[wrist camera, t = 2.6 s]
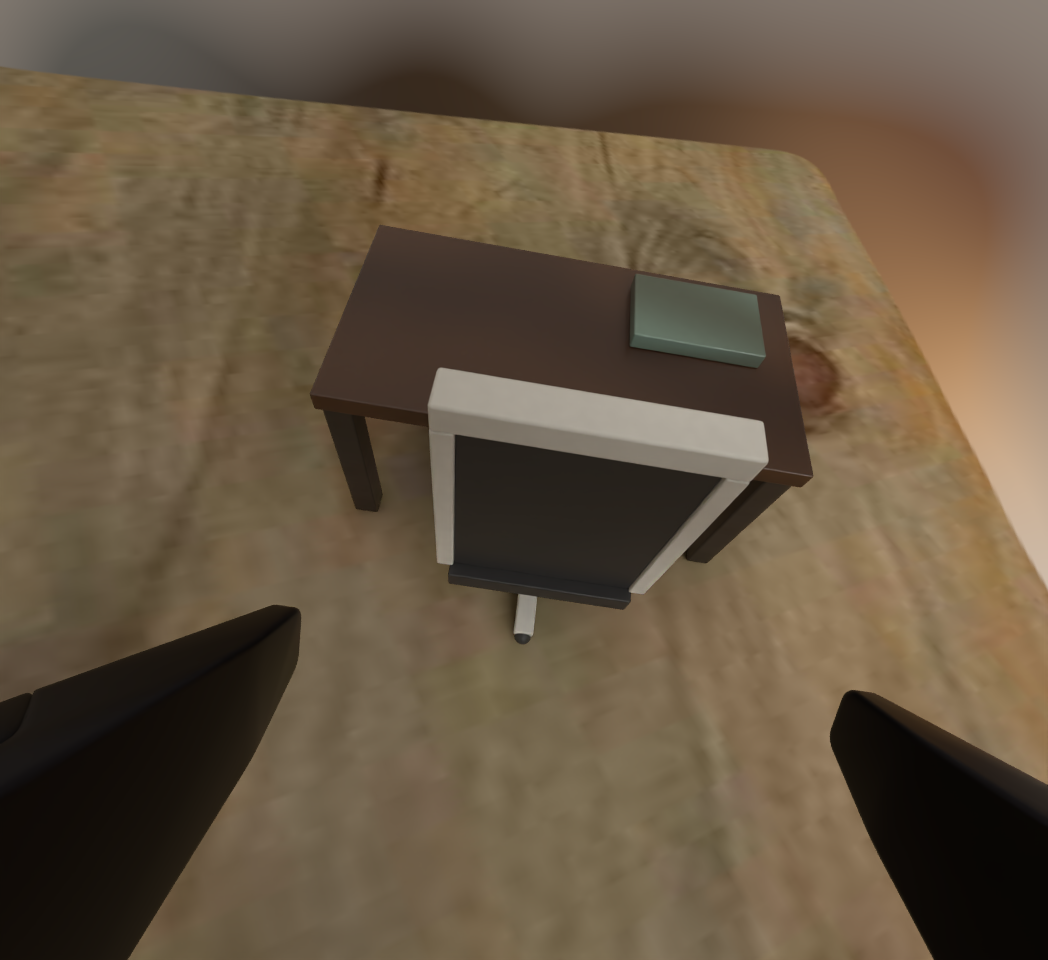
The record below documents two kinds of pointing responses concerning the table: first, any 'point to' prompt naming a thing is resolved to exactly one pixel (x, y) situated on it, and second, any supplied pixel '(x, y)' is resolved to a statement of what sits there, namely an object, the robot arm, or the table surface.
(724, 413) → the desk
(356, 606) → the table surface
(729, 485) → the white black boxy frame
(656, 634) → the table surface
